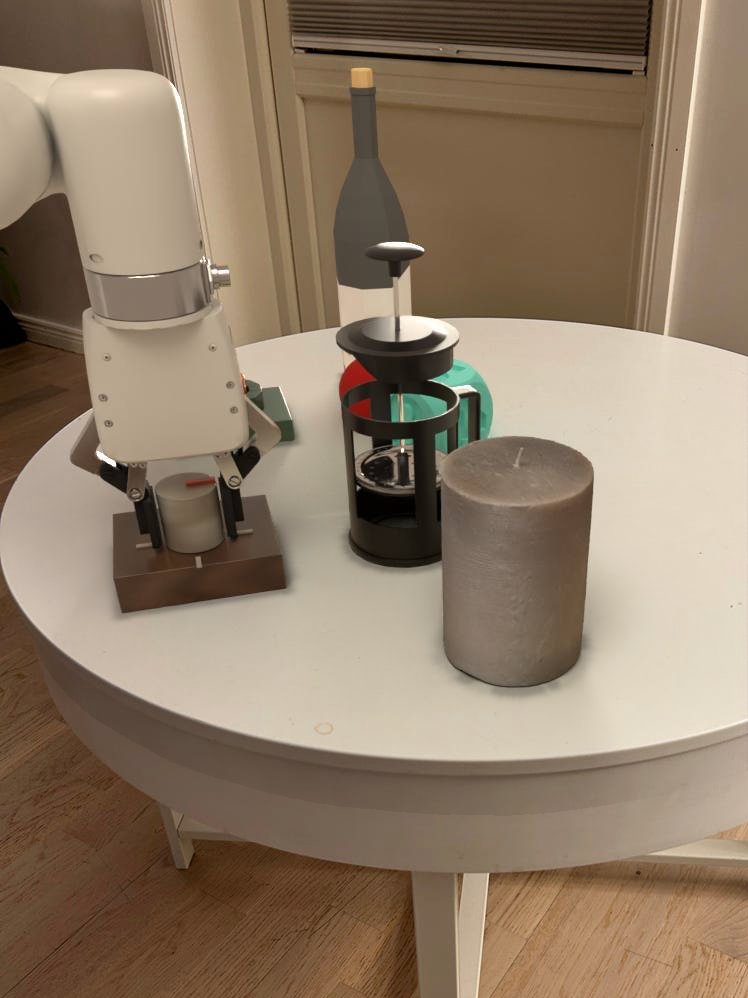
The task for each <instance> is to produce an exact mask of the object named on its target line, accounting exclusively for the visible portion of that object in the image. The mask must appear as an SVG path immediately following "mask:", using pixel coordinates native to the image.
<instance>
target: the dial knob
mask: <svg viewBox="0 0 748 998" xmlns="http://www.w3.org/2000/svg"><path fill="white" fill-rule="evenodd" d="M154 495H155V500H156V505H157V508H158V509H159V514H160V519H161V524H162V528H163V533H164V538H165V543H166V545H167V547H168V548H170V549H171V550H173V551H176V552H180V553H199V552H204V551H207V550H210V549H213V548H215V547H216V546H218V545H219V544H221V543H222V541H223V540H224V538H225V532H224V526H223V520H222V514H221V508H220V501H219V500H220V494H219V490H218V483H217V480H216V477H215V476H212V475H209V474H207V473H204V472H197V471H196V472H195V471H193V472H192V471H191V472H189V471H188V472H180V473H176V474H172V475H169V476H167V477H164V478H163V479H161V480H159V481H158V482H157V483H156V485H155V487H154Z"/></svg>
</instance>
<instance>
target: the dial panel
mask: <svg viewBox="0 0 748 998" xmlns="http://www.w3.org/2000/svg"><path fill="white" fill-rule="evenodd" d="M241 500H242V507H243V514H244V521H239V522H235V523H236V529H237V535H238V537H237V538H231V537H228V535H227V530H226V524H225V519H224V513H223V507H222V501H221V499H219V501H220V508H221V514H222V520H223V526H224V532H225V538H224V540H223V541H222V543H221V544H219V545H218V546H216V547H215V548H213V549H210V550H207V551H204V552H199V553H180V552H176V551H173V550H171V549H170V548H168V547H167V545H166V543H165V538H164V533H163V528H162V524H161V519H160V514H159V509H158V507H157V511H158V516H159V521H160V525H161V533H162V544H163V546H160V548H157V549H153V547H152V542H151V538H150V534H142V535H141V534H140V530H139V526H138V521H137V517H136V512H135V510H133V511H127V512H119V513H117V512H116V513H112V568H113V569H112V577H113V583H114V587H115V591H116V596H117V600H118V603H119V608H120V612H121V613H129V612H134V611H135V612H136V611H142V610H143V611H144V610H149V609H155V608H162V607H168V606H174V605H175V606H176V605H183V604H188V603H189V604H190V603H195V602H201V601H208V600H215V599H223V598H229V597H234V596H242V595H247V594H255V593H261V592H268V591H275V590H282V589H286V588H287V582H286V575H285V566H284V558H283V553H282V548H281V545H280V541H279V538H278V535H277V531H276V527H275V524H274V523H275V522H274V520H273V516H272V512H271V508H270V505H269V502H268V498H267V495H266V494H258V495H251V496H243V497H242V496H241Z"/></svg>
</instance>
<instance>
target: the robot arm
mask: <svg viewBox="0 0 748 998" xmlns="http://www.w3.org/2000/svg"><path fill="white" fill-rule="evenodd" d="M184 118H185V117H184V113H183V109H182V103H181V98H180V96H179V93H178V91H177V89H176V87H175V86H174V84H173V83H172V82H171V80H169V79H168V78H167V77H165V76H164V75H163V74H159V73H157V72H154V71H150V70H142V69H141V70H140V69H129V68H108V69H107V68H106V69H104V68H103V69H89V70H82V71H75V72H71V73H61V72H59V73H58V72H51V71H50V72H48V71H40V70H33V69H26V68H20V67H13V66H5V65H0V231H1V230H3V229H5V228H8V227H9V226H11V225H13V223H15V222H16V221H18V220H19V219H20V218H22V217H23V216H24V214H25V213H26V212H27V211H29V209H30V208H31V207H33V205H34V204H36V203H37V202H39V201H42V200H43V199H46V198H47V197H49V196H51V195H56V194H63V195H65V197H66V198H67V201H68V202H67V203H68V205H69V211H70V215H71V219H72V224H73V228H74V229H73V230H74V233H75V238H76V243H77V247H78V251H79V252H78V253H79V256H80V261H81V265H82V271H83V274H84V279H85V284H86V289H87V293H88V297H89V302H90V307H88V308H86V309H85V310H84V311H83V312H82V342H83V352H84V360H85V367H86V375H87V381H88V388H89V394H90V400H91V406H92V413H91V414H90V416H89V417H88V419H87V421H86V423H85V424H84V426H83V428H82V429H81V431H80V432H79V435H78V436H77V438H76V440H75V441H74V443H73V444H72V447H70V452H69V461H70V463H71V464H72V465H73V466H75V467H77V468H80V469H82V470H84V471H86V472H88V473H90V474H92V475H96V476H98V477H100V478H101V479H102V481H104V482H105V483H107V484H109V485H110V486H112V487H113V488H115V489H117V490H118V491H120V492H122V493H123V494H125V495H126V497H127V499H128V500H129V501H131V502H133V507H134V511H135V512H136V517H137V521H138V526H139V530H140V534H141V535H142V534H150V538H151V542H152V547H153V549H157V548H160V546H163V544H162V533H161V525H160V521H159V516H158V511H157V508H158V505H157V500H156V495H155V490H154V487H153V485H150V482H149V480H148V479H147V473H148V463H151V462H159V461H168V460H176V459H187V458H194V457H195V458H196V457H202V456H210V455H212V457H213V459H214V461H215V463H216V466H217V467H218V470H219V476H217V481H218V487H219V496H220V500H221V501H222V507H223V513H224V519H225V524H226V530H227V535H228V537H231V538H237V537H238V535H237V529H236V523H235V522H239V521H244V514H243V507H242V500H241V498H242V494H241V487H242V486H243V484H244V480H245V479H246V478H247V476H248V475H249V474H250V473H251V471H253V469H254V468H255V467H256V466H257V465H258V463H259V462H260V460H261V458H262V457H263V456H264V455H266V454H267V453H268V452H269V451H271V450H272V449H273V448H274V447H275V446H276V445H277V444H278V443H280V442H279V441H280V440H281V437H282V436H281V432H280V429H279V427H278V426H277V425H276V424H275V423H274V422H273V421H272V420H271V419H270V418H269V417H268V416H267V415H266V414H265V413H263V412H262V411H261V410H260V409H259V408H258V407H257V406H256V405H255V404H254V403H253V402H252V401H251V400H250V399H249V398H248V397H247V396H245V395H244V391H243V385H242V379H241V374H240V373H241V369H240V365H239V360H238V355H237V350H236V346H235V342H234V338H233V334H232V330H231V326H230V323H229V321H228V320H229V319H228V316H227V314H226V311H225V308H224V306H223V302H222V301H221V300H220V299H218V298H215V297H214V296H213V297H212V296H211V295H215V290H216V291H217V290H221V288H226V287H228V288H229V287H232V281H231V275H230V274H231V273H230V269H229V265H227V264H225V265H224V264H223V265H217V263H210V259H206V260H205V257H204V256H205V254H204V252H205V251H204V246H203V240H202V233H201V226H200V221H199V214H198V207H197V199H196V193H195V187H194V185H195V184H194V180H193V173H192V166H191V160H190V159H191V158H190V152H189V146H188V140H187V139H188V138H187V132H186V125H185V120H184ZM249 426H250V427H251V428H252V429H253V430H254V431H255V434H254V435H253V436H252V438H251V439H250V440H249V441H248V439H249ZM99 445H100V447H101V450H102V452H103V453H101V452H99V451H98V450H97V449H98V447H99ZM125 464H126V465H125Z"/></svg>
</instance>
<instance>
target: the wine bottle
mask: <svg viewBox="0 0 748 998" xmlns="http://www.w3.org/2000/svg"><path fill="white" fill-rule="evenodd" d="M373 76H374V75H373V69H372V68H371V67H353V68H351V69H350V77H351V85H349V86H348V89H349V90H348V91H349V95H350V105H351V119H352V120H351V121H352V123H351V124H352V136H353V137H352V139H353V152H354V153H353V154H354V157H353V159H352V161H351V165H350V167H349V170H348V173H347V175H346V177H345V180H344V181H343V185H342V187H341V189H340V193H339V197H338V199H337V204H336V207H335V208H336V209H335V215H334V224H333V231H332V232H333V247H334V259H335V269H336V270H335V271H336V284H337V298H338V310H339V311H338V312H339V322H340V323H339V325H340V329H341V328H342V327H344V326H346V325H348V324H350V323H353V322H356V321H359V320H363V319H368V318H373V317H381V316H395V314H394V290H393V277H390V276H389V271H388V261H380V260H374V259H371V258H368V257H366V256H365V255H364V251H365V249H367V248H368V247H370V246H373V245H376V244H381V243H389V242H401V243H409V244H410V235H409V231H408V226H407V222H406V218H405V214H404V211H403V208H402V205H401V203H400V199H399V196H398V193H397V191H396V190H395V188H394V186H393V184H392V182H391V180H390V178H389V176H388V174H387V172H386V170H385V169H384V166H383V164H382V161H381V160H380V157H379V142H378V140H379V139H378V122H377V103H376V101H377V100H376V94H377V86H376V85H374V79H373V78H374V77H373ZM411 284H412V283H411V260H407V261H402V276H400V277H398V295H399V315H402V316H413V313H412V287H411ZM341 350H342V349H341ZM355 359H356V358H355V357H354V356H353V355H349V354H348V353H346V352H345V351H344V350H342V361H343V369H344V370H343V371H345V369H346V368H347V367H348V365H349V364H350V363H351V362H353V361H354V360H355Z"/></svg>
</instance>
